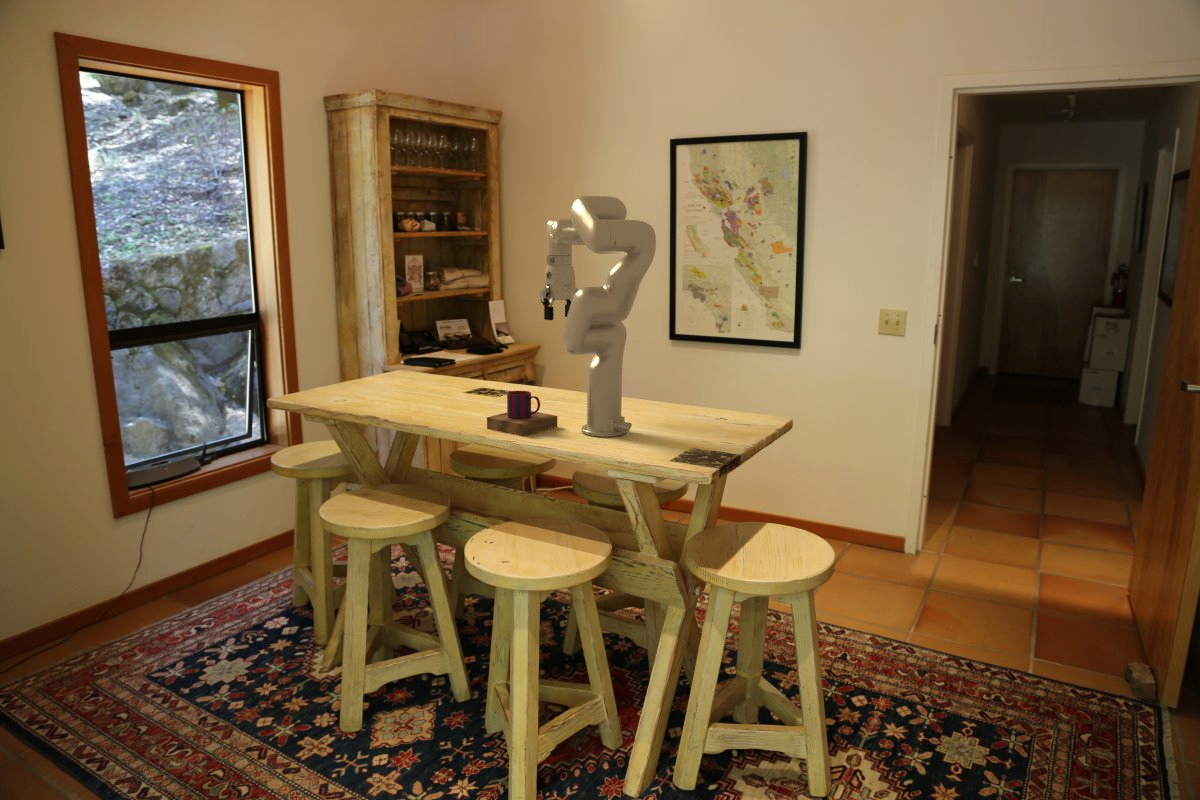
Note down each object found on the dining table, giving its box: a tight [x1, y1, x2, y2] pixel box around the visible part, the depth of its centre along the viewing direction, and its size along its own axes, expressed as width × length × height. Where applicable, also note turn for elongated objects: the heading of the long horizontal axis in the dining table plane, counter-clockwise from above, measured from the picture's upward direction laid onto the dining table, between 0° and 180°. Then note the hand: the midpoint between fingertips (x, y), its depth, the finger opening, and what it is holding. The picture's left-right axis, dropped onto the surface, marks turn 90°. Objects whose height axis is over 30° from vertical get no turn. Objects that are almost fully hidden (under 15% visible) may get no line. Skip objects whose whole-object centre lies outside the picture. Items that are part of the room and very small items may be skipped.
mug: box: [506, 390, 541, 419], centre depth 236 cm, size 7×10×7 cm
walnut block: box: [486, 410, 558, 437], centre depth 238 cm, size 14×14×4 cm
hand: (559, 318), depth 256 cm, fingers open, 9 cm apart
